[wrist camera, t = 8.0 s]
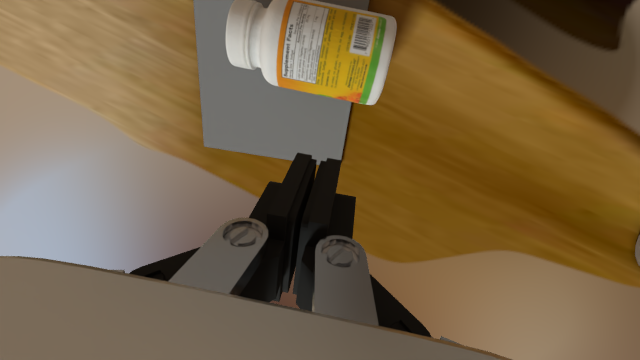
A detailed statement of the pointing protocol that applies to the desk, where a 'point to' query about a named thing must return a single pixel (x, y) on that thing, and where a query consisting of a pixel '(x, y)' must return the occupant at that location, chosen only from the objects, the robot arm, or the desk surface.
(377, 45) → the supplement bottle
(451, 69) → the desk surface
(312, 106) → the rubber mat
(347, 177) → the desk surface
